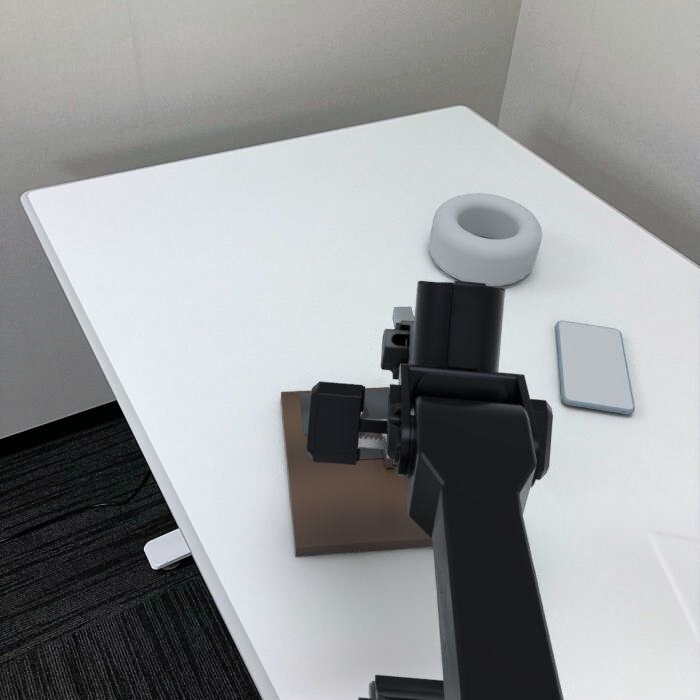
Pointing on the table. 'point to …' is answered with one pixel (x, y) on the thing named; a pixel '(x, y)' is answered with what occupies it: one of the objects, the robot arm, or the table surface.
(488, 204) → the donut shape
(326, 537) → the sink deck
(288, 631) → the table surface
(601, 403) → the smartphone
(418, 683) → the robot arm
